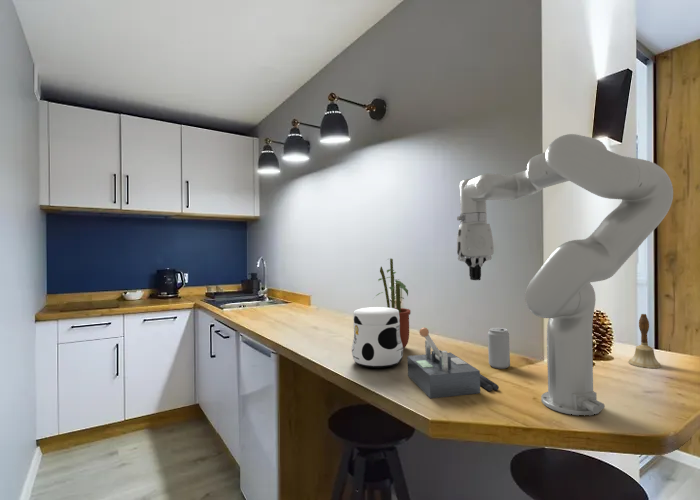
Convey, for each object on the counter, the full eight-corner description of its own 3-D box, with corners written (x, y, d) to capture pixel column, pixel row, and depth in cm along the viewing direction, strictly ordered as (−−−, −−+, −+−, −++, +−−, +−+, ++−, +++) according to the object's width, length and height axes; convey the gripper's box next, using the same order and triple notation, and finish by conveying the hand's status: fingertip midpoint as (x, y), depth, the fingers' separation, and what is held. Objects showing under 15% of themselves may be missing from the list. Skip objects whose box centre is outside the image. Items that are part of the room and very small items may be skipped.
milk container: (344, 360, 135) (343, 309, 135) (389, 354, 141) (387, 305, 141) (364, 375, 119) (362, 317, 118) (413, 367, 125) (411, 312, 125)
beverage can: (512, 369, 120) (511, 331, 119) (490, 369, 121) (489, 331, 121) (507, 363, 126) (506, 327, 126) (487, 362, 127) (486, 326, 127)
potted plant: (411, 354, 139) (408, 258, 139) (369, 353, 142) (366, 259, 141) (411, 342, 157) (409, 256, 156) (373, 341, 159) (371, 257, 159)
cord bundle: (499, 390, 103) (499, 385, 103) (488, 392, 102) (488, 386, 102) (468, 370, 120) (468, 365, 120) (458, 371, 120) (458, 366, 120)
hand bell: (667, 369, 116) (666, 316, 116) (636, 368, 118) (635, 316, 118) (652, 360, 124) (651, 311, 124) (623, 360, 126) (622, 311, 126)
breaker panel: (480, 393, 102) (479, 351, 102) (430, 398, 99) (429, 356, 99) (451, 371, 119) (450, 336, 119) (407, 375, 117) (406, 339, 117)
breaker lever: (449, 359, 108) (428, 327, 106) (442, 365, 107) (420, 332, 106) (443, 355, 112) (422, 324, 110) (436, 361, 111) (415, 329, 110)
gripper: (457, 219, 112) (459, 282, 112) (502, 218, 115) (504, 279, 115) (445, 221, 119) (447, 280, 119) (488, 220, 122) (490, 277, 122)
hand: (475, 279), depth 117 cm, fingers closed
